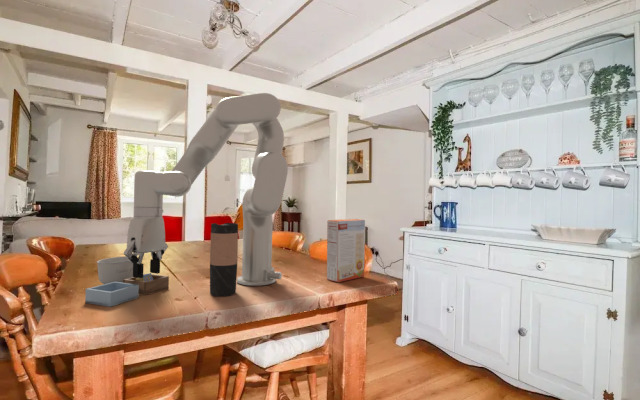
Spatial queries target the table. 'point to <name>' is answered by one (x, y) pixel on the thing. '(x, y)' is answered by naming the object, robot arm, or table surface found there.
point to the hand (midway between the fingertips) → (146, 274)
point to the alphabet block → (145, 278)
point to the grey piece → (114, 269)
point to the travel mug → (223, 259)
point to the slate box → (111, 293)
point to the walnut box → (150, 284)
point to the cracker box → (345, 249)
